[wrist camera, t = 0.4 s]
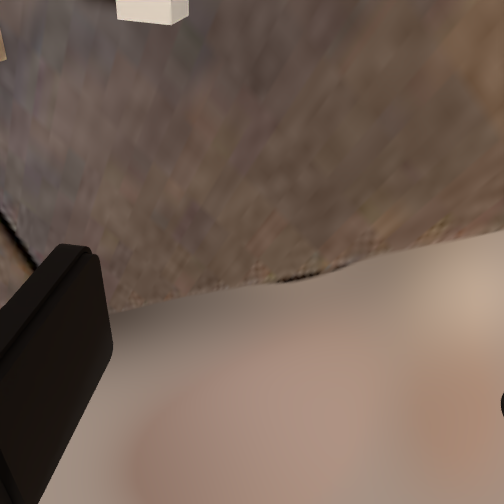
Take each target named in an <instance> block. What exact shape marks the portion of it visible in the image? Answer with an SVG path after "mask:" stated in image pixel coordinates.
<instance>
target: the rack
mask: <svg viewBox="0 0 504 504" xmlns="http://www.w3.org/2000/svg"><path fill="white" fill-rule="evenodd" d="M6 59H7V58H6V53H5V49H4V44H3V40H2V35H1V31H0V62H1V61H3V60H6Z"/></svg>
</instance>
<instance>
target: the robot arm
mask: <svg viewBox="0 0 504 504" xmlns="http://www.w3.org/2000/svg"><path fill="white" fill-rule="evenodd" d="M112 351H113V341H112V334H111V328H110V322H109V315H108V309H107V303H106V297H105V291H104V285H103V278H102V272H101V266H100V260H99V257H98V256H97V255H96V254H92V252H91V250H90V248H89V247H87V246H78V245H70V244H59V245H58V246H56V247H55V249H54V250H53V251H52V252H51V253H50V254H49V255H48V257H47V258H46V259H45V260H44V261H43V262H42V263H41V265H40V266H39V267H38V268H37V269H36V270H35V271H34V273H33V274H32V275H31V276H30V277H29V278H28V279H27V281H26V282H25V283H24V284H23V285H22V286H21V287H20V289H19V290H18V291H17V292H16V293H15V294H14V295H13V297H12V298H11V299H10V300H9V301H8V302H7V303H6V305H4V306H3V307H2V308H1V309H0V504H38V503H39V501H40V499H41V497H42V495H43V493H44V491H45V489H46V487H47V485H48V483H49V481H50V479H51V477H52V475H53V473H54V471H55V469H56V467H57V465H58V463H59V461H60V459H61V457H62V455H63V453H64V451H65V449H66V447H67V445H68V443H69V441H70V439H71V437H72V435H73V433H74V431H75V429H76V427H77V425H78V423H79V421H80V419H81V417H82V415H83V413H84V411H85V409H86V407H87V405H88V403H89V401H90V399H91V397H92V395H93V393H94V391H95V389H96V387H97V385H98V383H99V381H100V379H101V377H102V375H103V373H104V371H105V369H106V367H107V365H108V363H109V361H110V359H111V356H112ZM501 410H502V413H503V416H504V393H503V395H502V398H501Z"/></svg>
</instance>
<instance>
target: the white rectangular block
mask: <svg viewBox="0 0 504 504" xmlns="http://www.w3.org/2000/svg"><path fill="white" fill-rule="evenodd" d="M116 6H117V18H118V19H119V20H128V21H138V22H147V23H156V24H165V25H172V24H174V23H176V22H178V21H180V20H182V19H183V18H185V17H187V16H189V0H116Z"/></svg>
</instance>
